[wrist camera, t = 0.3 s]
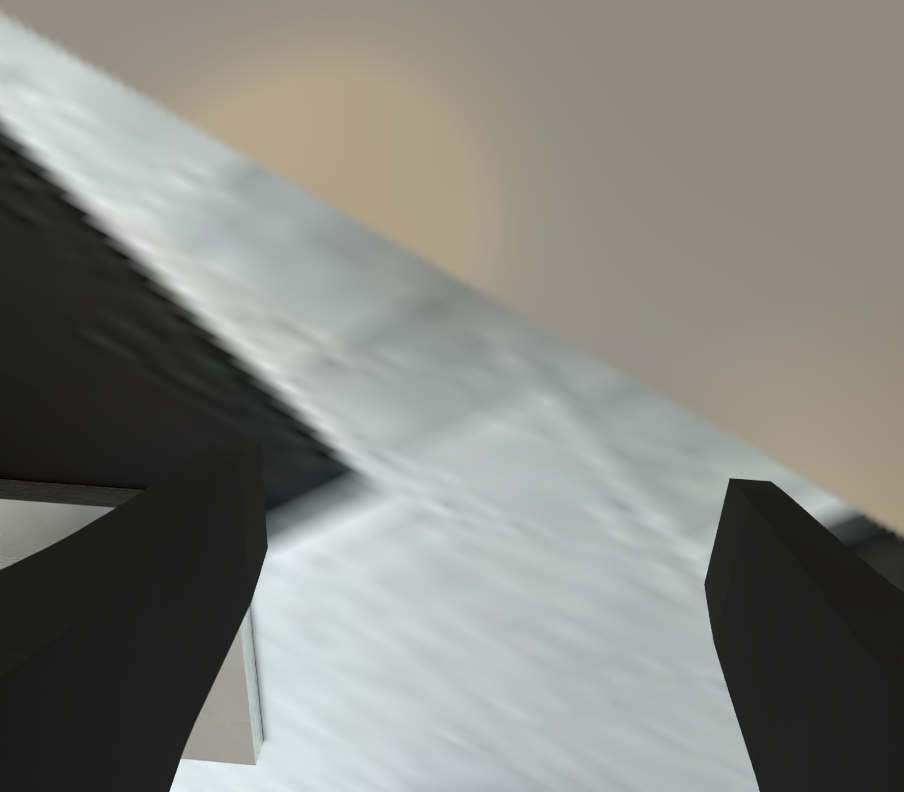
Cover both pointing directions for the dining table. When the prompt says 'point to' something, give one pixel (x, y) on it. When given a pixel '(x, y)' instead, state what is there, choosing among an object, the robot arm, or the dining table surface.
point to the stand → (235, 688)
